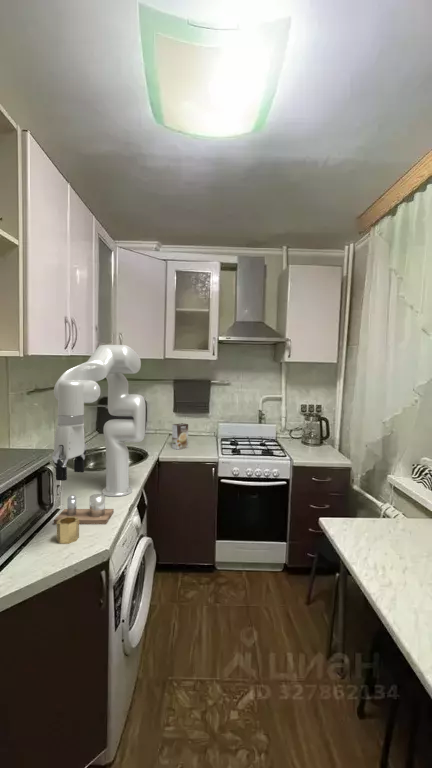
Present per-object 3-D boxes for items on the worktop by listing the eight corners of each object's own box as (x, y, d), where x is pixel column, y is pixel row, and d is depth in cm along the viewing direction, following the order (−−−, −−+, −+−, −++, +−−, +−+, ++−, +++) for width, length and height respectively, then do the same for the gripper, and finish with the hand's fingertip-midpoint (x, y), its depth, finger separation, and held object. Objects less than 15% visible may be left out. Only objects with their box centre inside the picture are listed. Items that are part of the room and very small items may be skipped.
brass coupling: (62, 534, 119) (61, 516, 119) (81, 534, 119) (80, 516, 119) (54, 543, 113) (54, 524, 113) (74, 543, 113) (74, 524, 113)
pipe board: (64, 512, 137) (64, 508, 137) (113, 512, 137) (113, 508, 137) (53, 524, 127) (53, 520, 127) (106, 524, 127) (106, 520, 127)
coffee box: (177, 449, 243) (177, 425, 243) (171, 448, 248) (171, 424, 247) (188, 447, 250) (188, 424, 249) (182, 446, 254) (182, 423, 254)
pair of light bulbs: (70, 511, 135) (70, 492, 134) (106, 511, 135) (106, 492, 135) (64, 517, 129) (64, 497, 129) (102, 517, 130) (102, 497, 129)
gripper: (75, 417, 123) (74, 468, 123) (42, 423, 106) (41, 483, 106) (96, 418, 122) (95, 469, 122) (65, 424, 105) (65, 484, 105)
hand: (70, 475), depth 114 cm, fingers open, 9 cm apart
